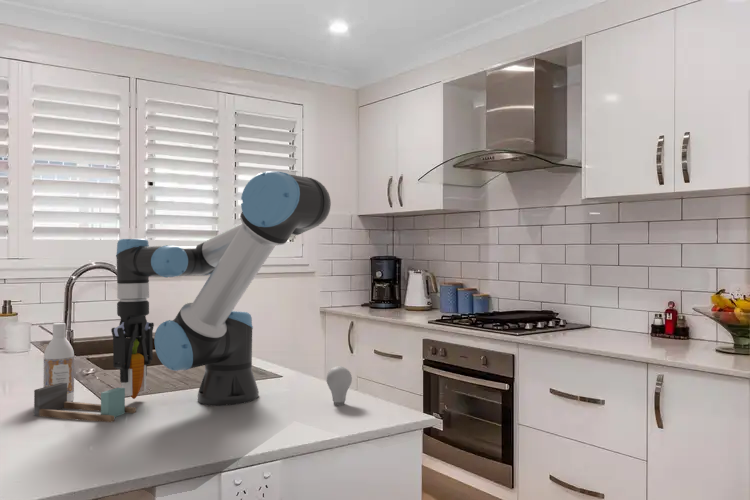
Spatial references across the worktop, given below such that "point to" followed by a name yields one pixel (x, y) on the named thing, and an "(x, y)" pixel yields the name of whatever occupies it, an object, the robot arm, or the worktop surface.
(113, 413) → the cap
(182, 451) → the worktop surface
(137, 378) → the carrot
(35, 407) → the track
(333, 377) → the lightbulb
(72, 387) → the bath foam
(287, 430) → the worktop surface
